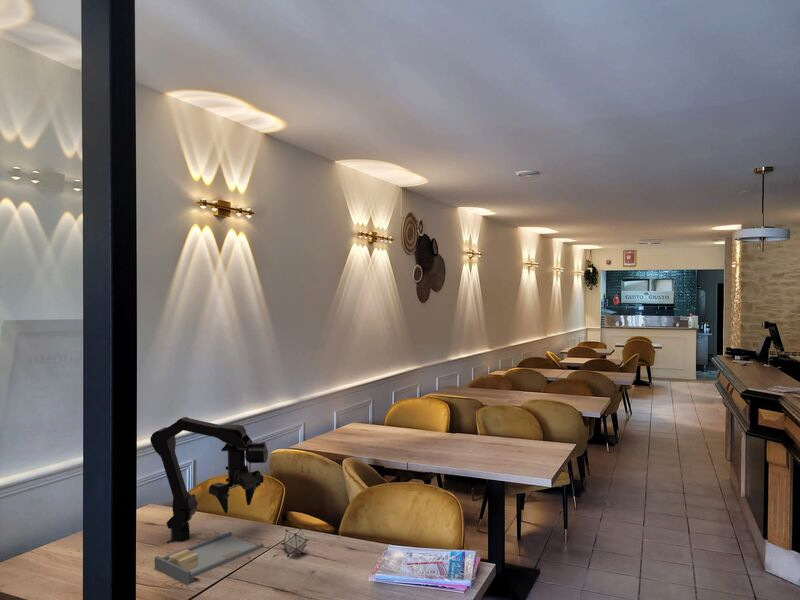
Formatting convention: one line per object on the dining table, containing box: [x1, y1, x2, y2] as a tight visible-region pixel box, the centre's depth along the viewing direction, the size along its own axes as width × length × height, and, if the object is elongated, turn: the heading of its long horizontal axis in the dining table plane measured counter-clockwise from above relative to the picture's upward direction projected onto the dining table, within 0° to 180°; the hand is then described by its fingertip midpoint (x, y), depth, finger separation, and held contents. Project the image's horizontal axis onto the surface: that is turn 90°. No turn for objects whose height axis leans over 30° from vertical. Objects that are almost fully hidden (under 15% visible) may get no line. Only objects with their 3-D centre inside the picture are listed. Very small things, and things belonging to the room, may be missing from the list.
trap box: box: [154, 531, 264, 585], centre depth 187 cm, size 18×28×4 cm, turn 142°
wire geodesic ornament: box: [280, 526, 309, 558], centre depth 190 cm, size 9×8×10 cm
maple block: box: [168, 548, 198, 570], centre depth 179 cm, size 6×6×4 cm
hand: (237, 508), depth 201 cm, fingers open, 9 cm apart
